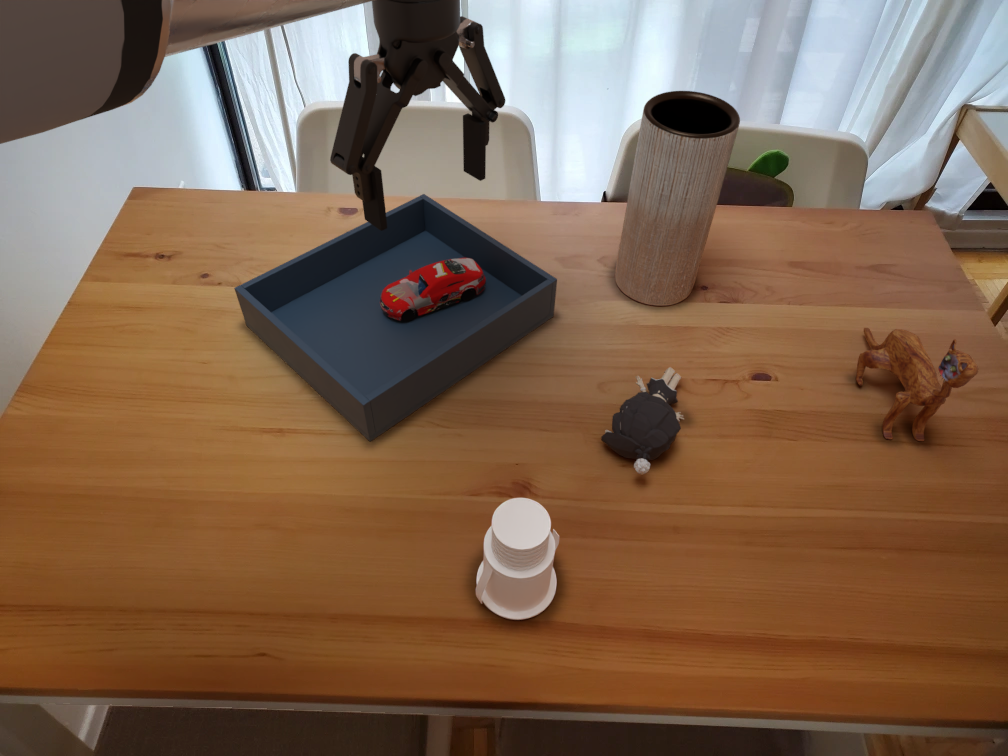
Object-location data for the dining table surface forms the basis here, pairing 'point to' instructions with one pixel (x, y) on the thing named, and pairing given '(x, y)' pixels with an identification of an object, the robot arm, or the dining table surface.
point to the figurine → (646, 422)
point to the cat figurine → (915, 375)
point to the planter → (673, 194)
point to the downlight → (518, 561)
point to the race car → (432, 288)
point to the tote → (383, 340)
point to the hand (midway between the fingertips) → (427, 198)
